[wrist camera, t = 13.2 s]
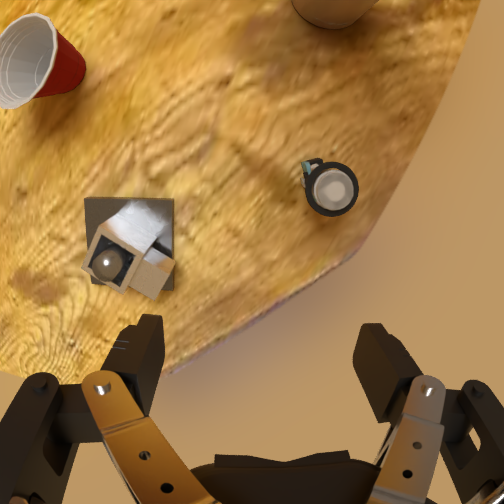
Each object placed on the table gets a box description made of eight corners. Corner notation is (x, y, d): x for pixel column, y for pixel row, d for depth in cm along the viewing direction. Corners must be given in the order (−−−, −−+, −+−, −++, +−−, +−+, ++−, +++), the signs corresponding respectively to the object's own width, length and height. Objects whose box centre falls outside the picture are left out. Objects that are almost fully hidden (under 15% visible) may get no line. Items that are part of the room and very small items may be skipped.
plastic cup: (27, 103, 32) (-29, 100, 21) (56, 32, 29) (7, 10, 18) (83, 121, 34) (30, 119, 23) (116, 45, 31) (73, 16, 20)
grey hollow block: (100, 251, 39) (81, 268, 33) (117, 213, 37) (98, 225, 32) (160, 287, 41) (149, 310, 35) (181, 251, 39) (172, 270, 34)
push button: (339, 203, 39) (369, 223, 30) (300, 214, 39) (319, 238, 30) (327, 152, 37) (355, 156, 27) (285, 163, 37) (301, 171, 28)
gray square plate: (87, 196, 37) (52, 212, 29) (173, 198, 38) (155, 215, 30) (94, 280, 41) (66, 311, 33) (174, 287, 42) (159, 322, 34)
